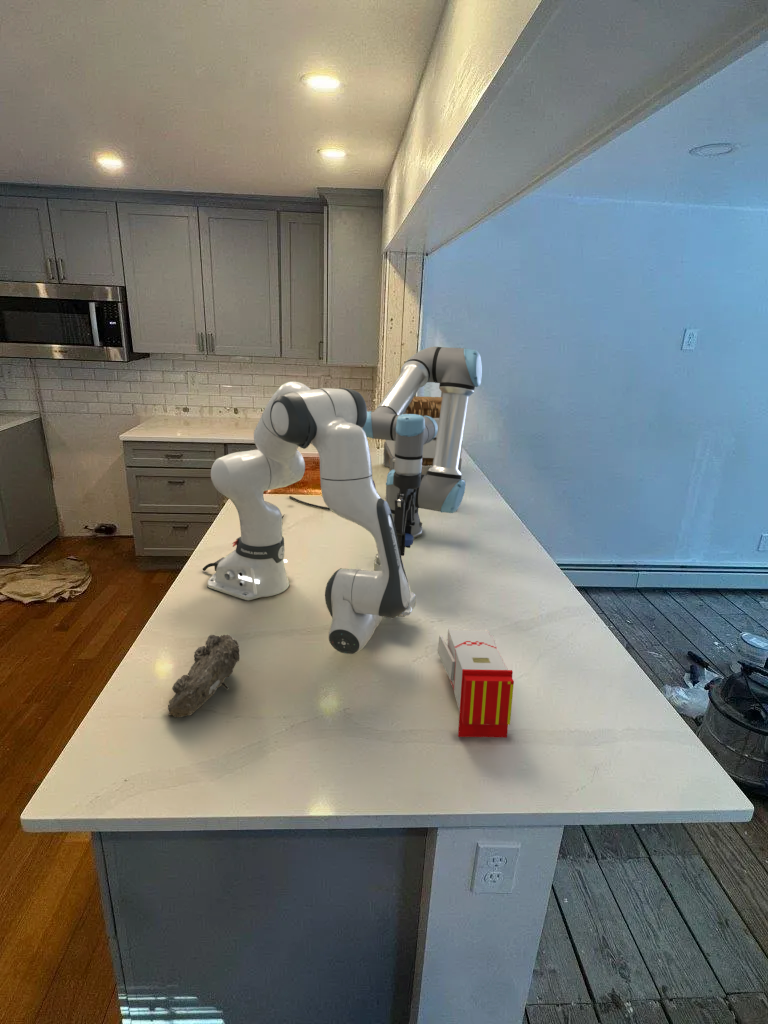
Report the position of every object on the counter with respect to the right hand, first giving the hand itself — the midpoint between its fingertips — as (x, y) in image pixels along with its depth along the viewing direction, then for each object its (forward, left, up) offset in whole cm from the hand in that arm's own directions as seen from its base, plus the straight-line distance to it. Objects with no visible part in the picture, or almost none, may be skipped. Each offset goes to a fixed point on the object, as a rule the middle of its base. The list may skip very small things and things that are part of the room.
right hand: (402, 550), depth 162 cm
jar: (+8, -14, -10) cm, 19 cm away
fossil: (+12, -64, -10) cm, 66 cm away
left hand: (+8, -14, -3) cm, 16 cm away
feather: (-64, -1, -10) cm, 64 cm away
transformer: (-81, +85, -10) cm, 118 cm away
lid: (0, 0, +4) cm, 4 cm away
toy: (+46, -22, -10) cm, 52 cm away
